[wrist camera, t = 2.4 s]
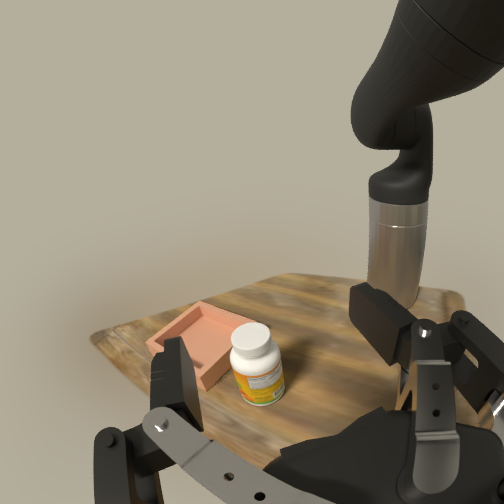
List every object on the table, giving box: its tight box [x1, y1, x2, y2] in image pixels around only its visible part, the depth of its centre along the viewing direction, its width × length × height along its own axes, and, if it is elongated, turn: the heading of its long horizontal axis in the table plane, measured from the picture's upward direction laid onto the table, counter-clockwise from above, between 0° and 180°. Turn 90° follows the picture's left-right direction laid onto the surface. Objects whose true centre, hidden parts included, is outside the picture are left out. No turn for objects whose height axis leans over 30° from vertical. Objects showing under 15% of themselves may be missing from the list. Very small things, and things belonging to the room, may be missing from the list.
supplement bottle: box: [230, 322, 285, 406], centre depth 28 cm, size 5×5×10 cm
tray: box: [146, 301, 257, 391], centre depth 38 cm, size 12×12×3 cm
